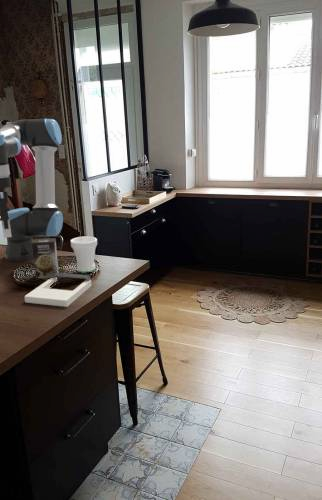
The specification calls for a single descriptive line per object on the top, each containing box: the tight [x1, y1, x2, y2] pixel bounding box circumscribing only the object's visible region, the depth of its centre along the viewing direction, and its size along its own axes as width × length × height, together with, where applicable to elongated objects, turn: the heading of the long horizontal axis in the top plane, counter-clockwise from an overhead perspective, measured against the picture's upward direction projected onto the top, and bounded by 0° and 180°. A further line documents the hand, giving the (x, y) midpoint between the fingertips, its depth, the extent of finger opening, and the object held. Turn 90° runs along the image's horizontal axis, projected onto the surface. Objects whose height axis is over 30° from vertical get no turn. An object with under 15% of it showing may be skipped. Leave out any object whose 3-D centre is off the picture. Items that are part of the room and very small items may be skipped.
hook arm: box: [52, 272, 91, 281], centre depth 169 cm, size 1×16×4 cm, turn 74°
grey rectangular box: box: [32, 237, 60, 279], centre depth 177 cm, size 9×6×16 cm
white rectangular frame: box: [24, 277, 92, 308], centre depth 161 cm, size 20×17×2 cm
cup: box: [70, 235, 98, 274], centre depth 182 cm, size 11×11×14 cm
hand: (7, 232), depth 162 cm, fingers open, 13 cm apart
